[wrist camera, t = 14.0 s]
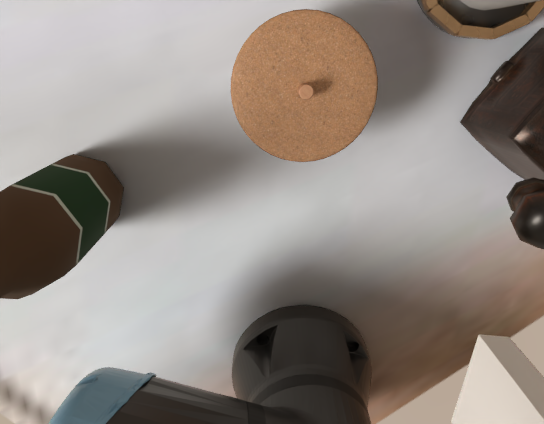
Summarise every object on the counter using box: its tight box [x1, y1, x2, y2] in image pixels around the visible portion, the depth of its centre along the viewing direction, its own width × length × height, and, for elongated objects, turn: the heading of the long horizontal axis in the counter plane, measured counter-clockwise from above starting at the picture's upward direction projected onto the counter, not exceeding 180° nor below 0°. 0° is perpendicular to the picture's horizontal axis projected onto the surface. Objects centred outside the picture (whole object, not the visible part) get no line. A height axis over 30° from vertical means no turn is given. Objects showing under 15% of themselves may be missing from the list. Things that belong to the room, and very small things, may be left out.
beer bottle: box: [0, 154, 124, 299], centre depth 31 cm, size 8×8×24 cm
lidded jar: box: [231, 9, 378, 162], centre depth 35 cm, size 11×11×9 cm
